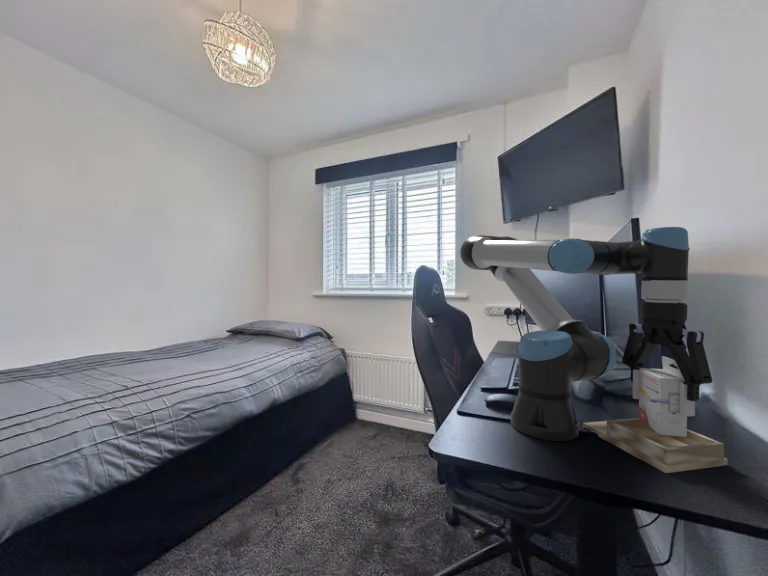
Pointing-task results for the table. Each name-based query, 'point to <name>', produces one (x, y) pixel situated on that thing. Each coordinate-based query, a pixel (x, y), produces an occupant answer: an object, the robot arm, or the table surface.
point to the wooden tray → (661, 445)
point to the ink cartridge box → (662, 399)
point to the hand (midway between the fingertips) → (661, 406)
